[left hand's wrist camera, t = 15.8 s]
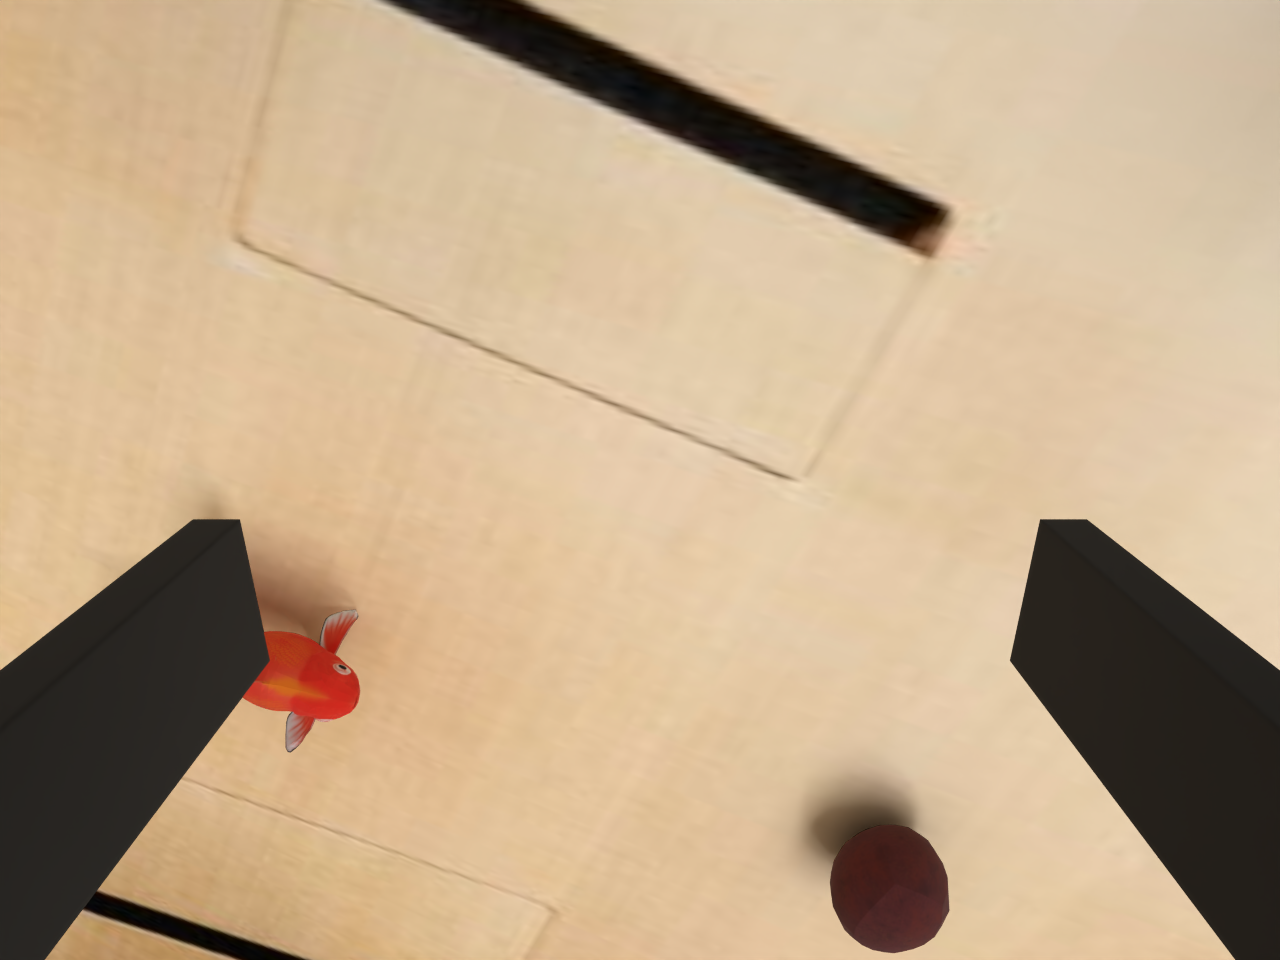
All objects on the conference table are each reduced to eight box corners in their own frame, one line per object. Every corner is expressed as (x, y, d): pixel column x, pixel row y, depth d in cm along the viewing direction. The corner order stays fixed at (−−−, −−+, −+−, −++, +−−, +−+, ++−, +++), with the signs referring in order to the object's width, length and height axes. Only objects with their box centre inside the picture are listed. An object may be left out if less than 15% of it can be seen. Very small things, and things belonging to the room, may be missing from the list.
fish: (322, 807, 46) (196, 864, 36) (151, 649, 50) (-5, 663, 40) (425, 658, 46) (327, 675, 36) (247, 511, 50) (114, 491, 40)
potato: (799, 862, 54) (821, 958, 47) (859, 784, 51) (892, 875, 45) (888, 896, 55) (922, 995, 48) (951, 822, 52) (996, 915, 46)
